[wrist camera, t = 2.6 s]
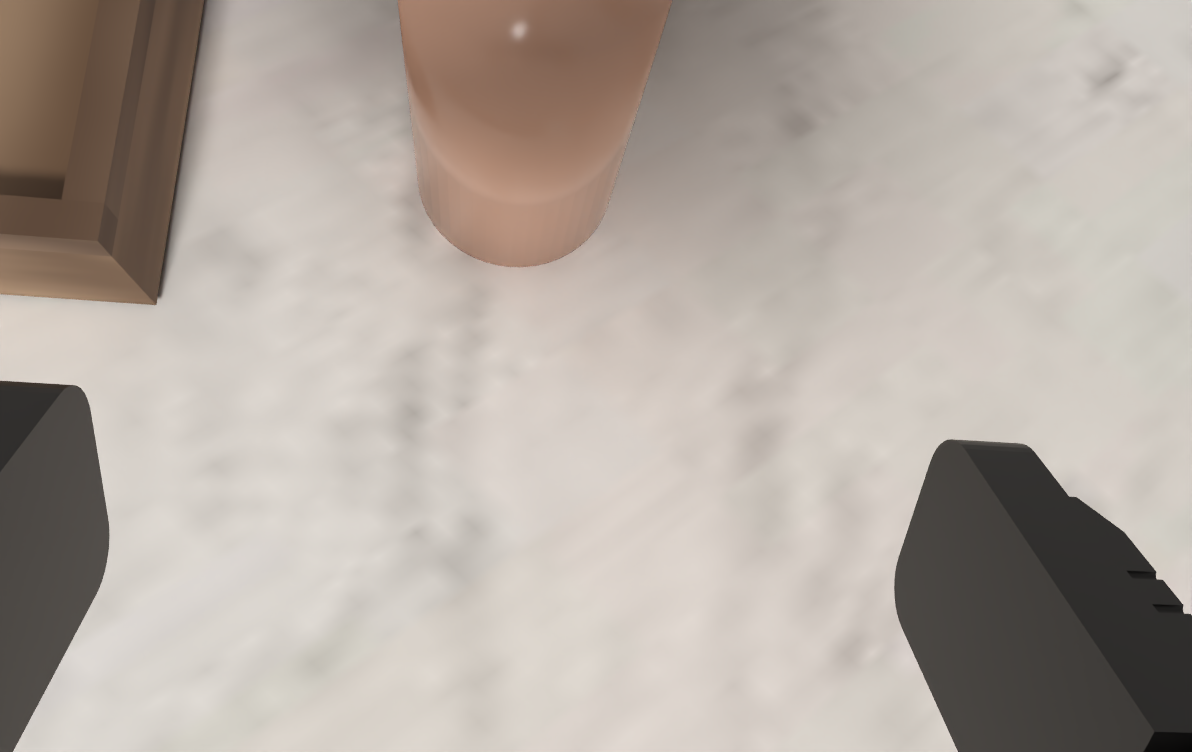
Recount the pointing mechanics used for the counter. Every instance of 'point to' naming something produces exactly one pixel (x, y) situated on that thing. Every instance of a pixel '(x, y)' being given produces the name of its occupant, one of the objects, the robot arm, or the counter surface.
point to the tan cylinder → (524, 116)
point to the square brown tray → (91, 143)
